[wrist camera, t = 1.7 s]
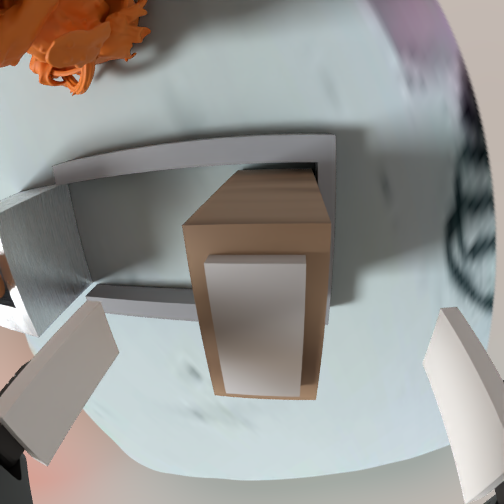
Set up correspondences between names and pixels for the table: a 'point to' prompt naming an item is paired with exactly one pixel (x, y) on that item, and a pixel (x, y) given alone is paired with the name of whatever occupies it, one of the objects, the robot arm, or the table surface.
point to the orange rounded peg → (2, 287)
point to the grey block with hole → (39, 258)
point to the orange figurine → (69, 36)
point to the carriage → (262, 283)
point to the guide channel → (196, 155)
